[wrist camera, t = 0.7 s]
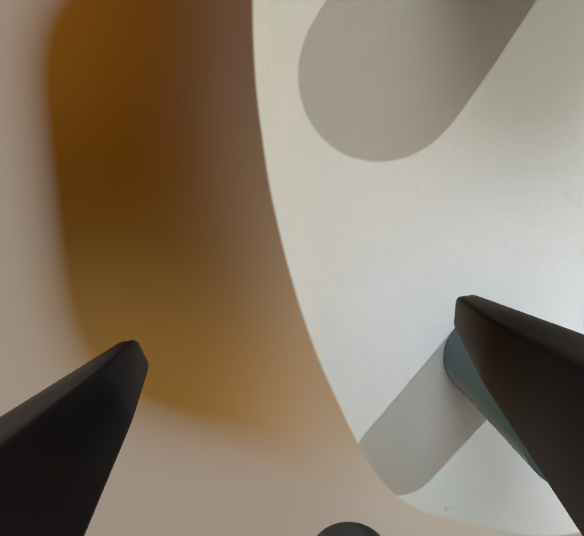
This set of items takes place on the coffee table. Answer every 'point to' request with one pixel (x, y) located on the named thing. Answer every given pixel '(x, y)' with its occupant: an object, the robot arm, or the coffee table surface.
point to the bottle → (480, 394)
